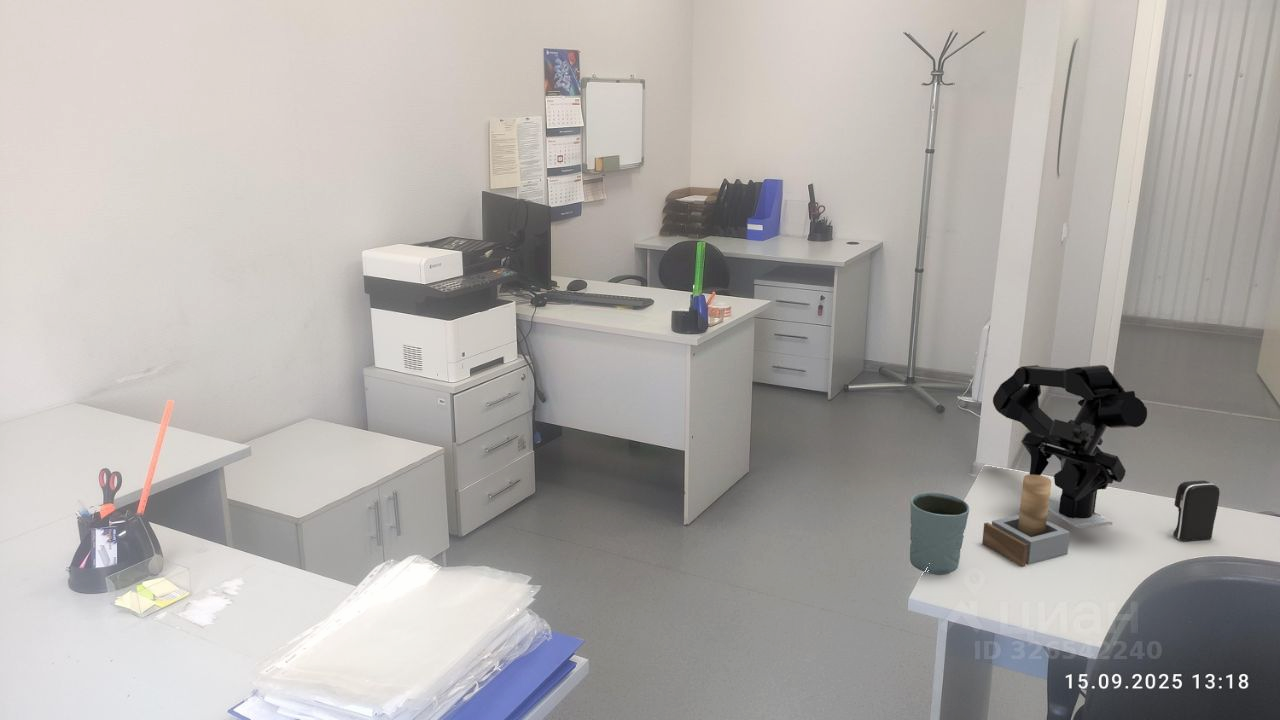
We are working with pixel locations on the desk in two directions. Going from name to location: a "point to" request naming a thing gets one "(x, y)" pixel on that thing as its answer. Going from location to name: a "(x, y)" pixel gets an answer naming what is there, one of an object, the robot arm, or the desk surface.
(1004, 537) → the backstop wall
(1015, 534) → the socket block
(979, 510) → the desk surface
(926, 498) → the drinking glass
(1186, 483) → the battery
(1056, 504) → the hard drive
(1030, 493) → the oak dowel
